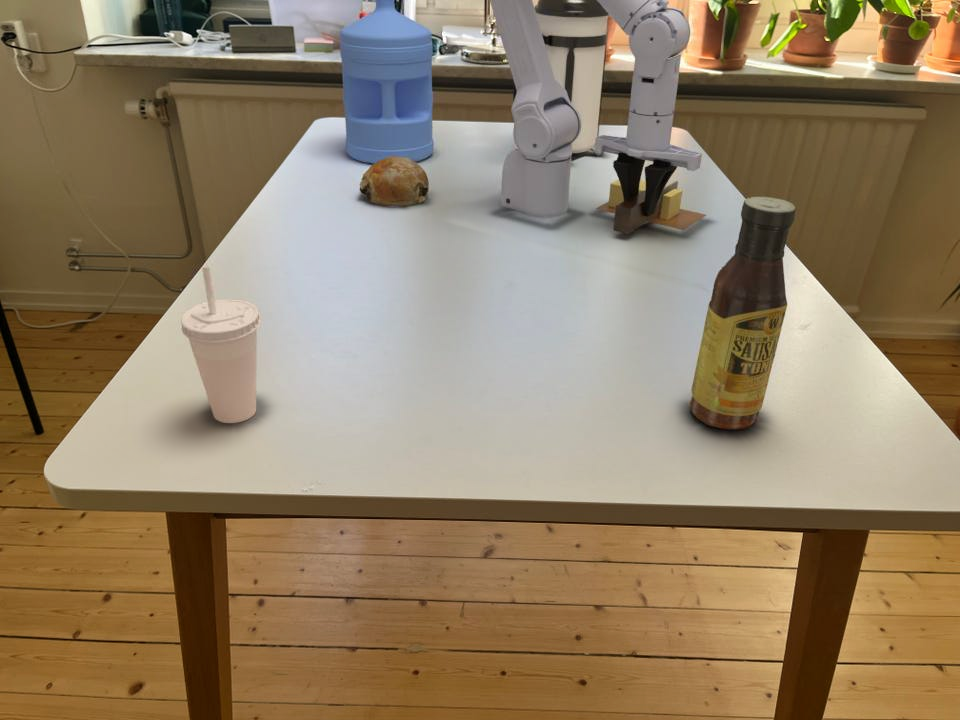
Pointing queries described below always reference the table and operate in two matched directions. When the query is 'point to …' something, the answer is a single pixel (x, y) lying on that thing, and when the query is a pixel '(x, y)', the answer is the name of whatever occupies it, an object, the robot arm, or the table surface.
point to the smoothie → (225, 352)
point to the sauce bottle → (744, 319)
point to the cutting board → (678, 221)
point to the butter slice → (671, 204)
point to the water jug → (387, 86)
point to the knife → (636, 211)
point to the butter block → (620, 193)
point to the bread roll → (395, 182)
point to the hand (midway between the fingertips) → (639, 212)
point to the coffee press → (577, 58)
